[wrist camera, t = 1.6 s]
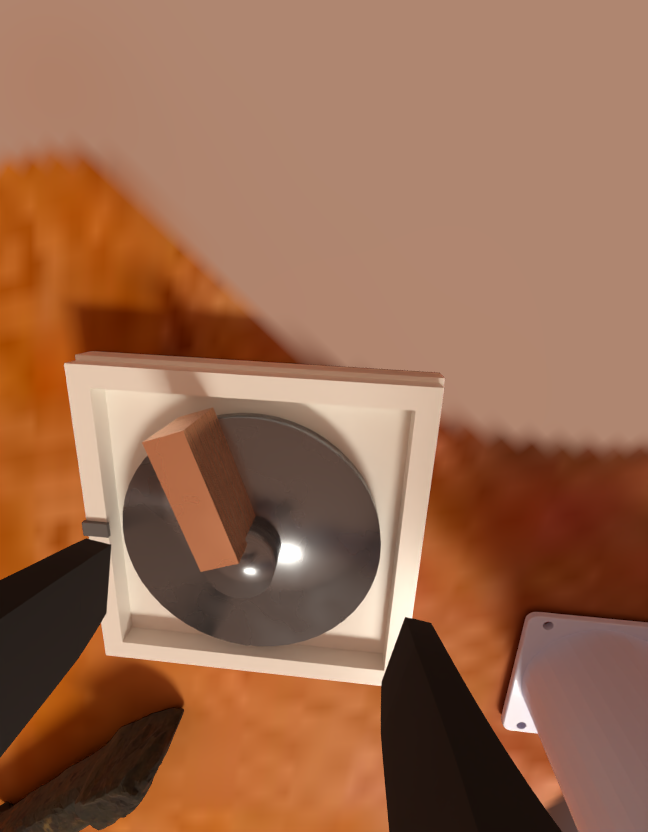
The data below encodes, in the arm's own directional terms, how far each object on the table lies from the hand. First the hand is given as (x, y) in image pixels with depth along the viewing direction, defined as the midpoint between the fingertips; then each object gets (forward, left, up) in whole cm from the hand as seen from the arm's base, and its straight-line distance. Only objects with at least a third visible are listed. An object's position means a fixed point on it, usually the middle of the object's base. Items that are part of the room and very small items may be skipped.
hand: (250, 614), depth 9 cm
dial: (+2, +4, -9) cm, 10 cm away
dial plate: (+2, +4, -10) cm, 11 cm away
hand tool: (+14, +24, -11) cm, 30 cm away
